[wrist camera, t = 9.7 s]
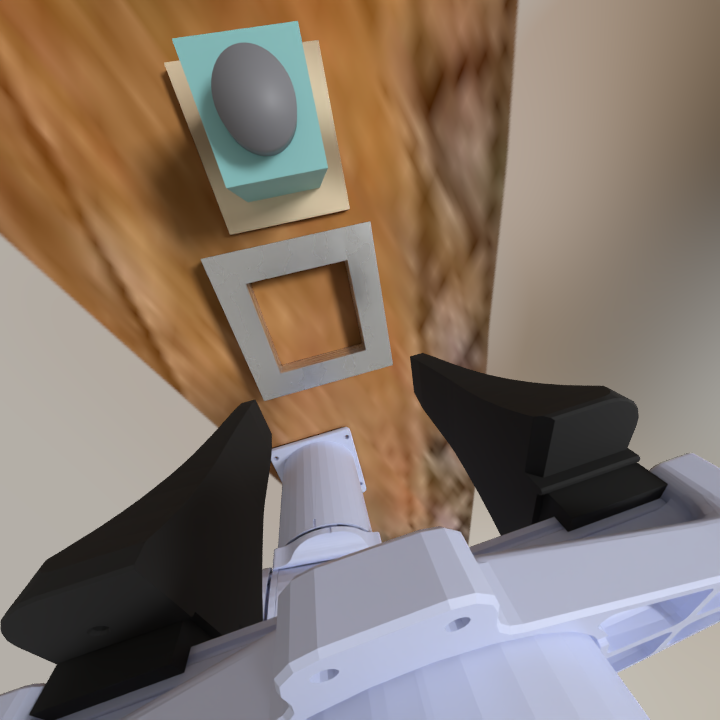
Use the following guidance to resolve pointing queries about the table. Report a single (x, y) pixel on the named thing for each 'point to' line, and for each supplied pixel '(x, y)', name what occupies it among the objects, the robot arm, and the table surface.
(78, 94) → the table surface
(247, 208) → the cork coaster
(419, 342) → the table surface
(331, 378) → the block
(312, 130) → the teal cube with dome
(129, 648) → the robot arm
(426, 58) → the table surface
